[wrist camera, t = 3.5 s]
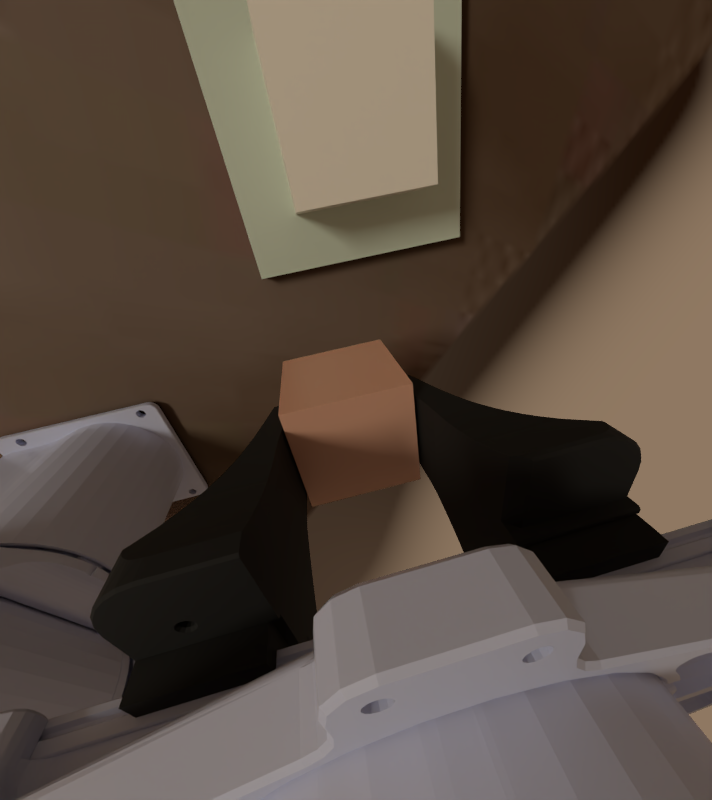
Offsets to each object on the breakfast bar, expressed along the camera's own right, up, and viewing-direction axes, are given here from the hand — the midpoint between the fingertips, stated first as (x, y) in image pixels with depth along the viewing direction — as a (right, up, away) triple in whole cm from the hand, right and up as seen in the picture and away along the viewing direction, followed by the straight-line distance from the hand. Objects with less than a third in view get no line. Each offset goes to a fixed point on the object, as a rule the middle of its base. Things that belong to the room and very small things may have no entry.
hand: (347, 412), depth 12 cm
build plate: (0, +13, +2) cm, 13 cm away
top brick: (0, +1, +1) cm, 2 cm away
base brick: (0, +13, +2) cm, 13 cm away
